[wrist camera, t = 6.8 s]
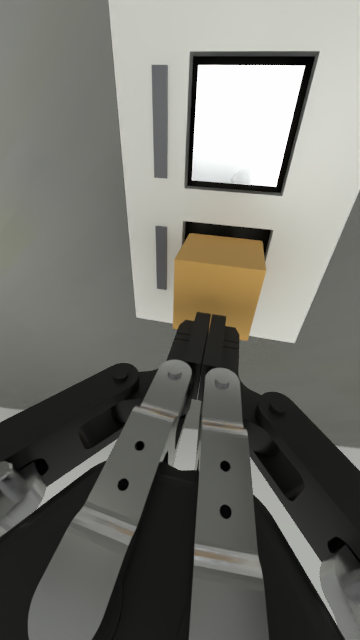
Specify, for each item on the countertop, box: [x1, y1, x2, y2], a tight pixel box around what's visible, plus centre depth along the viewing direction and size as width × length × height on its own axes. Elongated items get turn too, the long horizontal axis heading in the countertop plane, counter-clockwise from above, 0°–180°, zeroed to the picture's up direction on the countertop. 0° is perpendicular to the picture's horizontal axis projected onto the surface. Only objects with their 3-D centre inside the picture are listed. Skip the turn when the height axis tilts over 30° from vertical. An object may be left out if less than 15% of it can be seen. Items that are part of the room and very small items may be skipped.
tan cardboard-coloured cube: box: [173, 233, 266, 341], centre depth 16 cm, size 5×5×4 cm
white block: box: [192, 65, 305, 187], centre depth 15 cm, size 5×5×4 cm
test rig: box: [108, 0, 360, 343], centre depth 18 cm, size 20×14×6 cm
